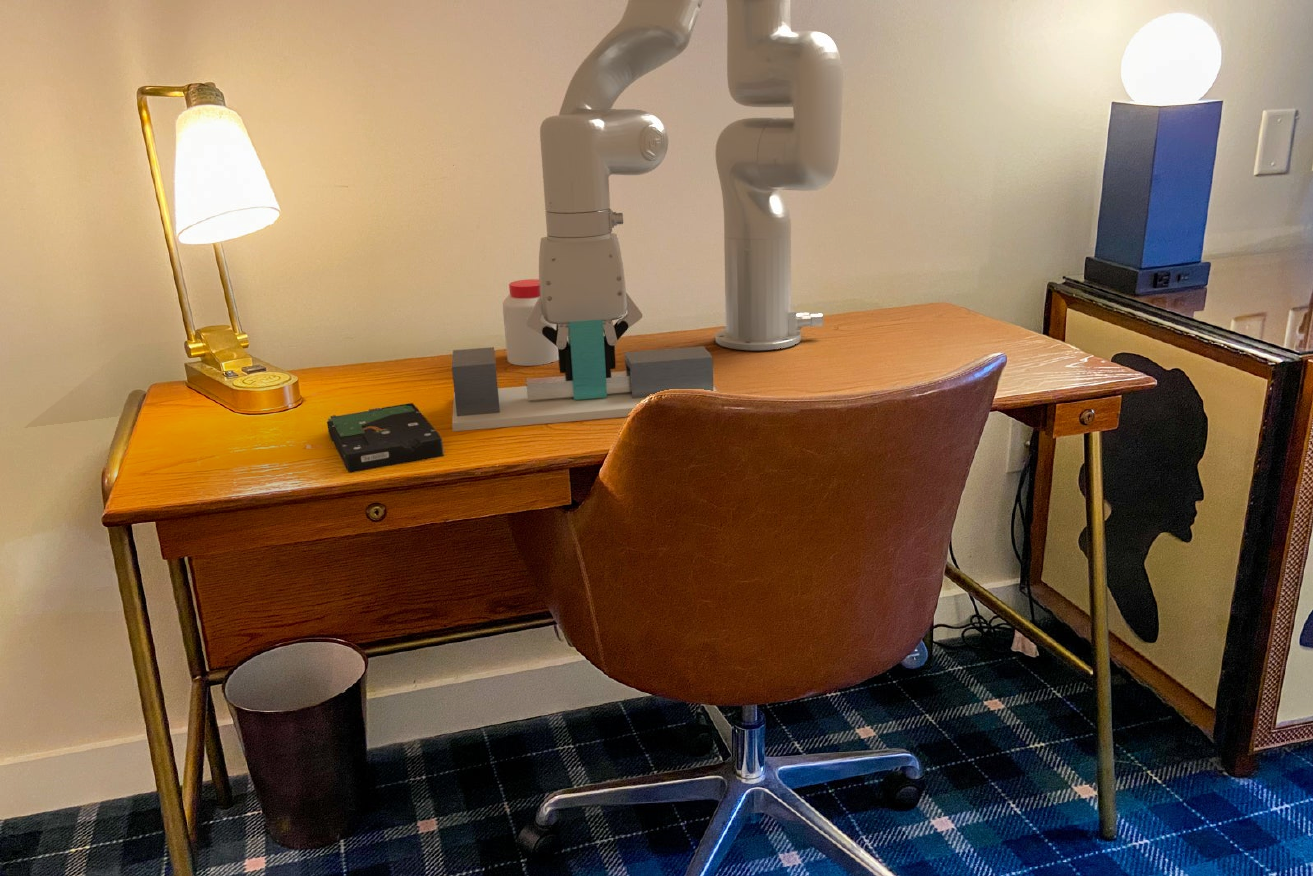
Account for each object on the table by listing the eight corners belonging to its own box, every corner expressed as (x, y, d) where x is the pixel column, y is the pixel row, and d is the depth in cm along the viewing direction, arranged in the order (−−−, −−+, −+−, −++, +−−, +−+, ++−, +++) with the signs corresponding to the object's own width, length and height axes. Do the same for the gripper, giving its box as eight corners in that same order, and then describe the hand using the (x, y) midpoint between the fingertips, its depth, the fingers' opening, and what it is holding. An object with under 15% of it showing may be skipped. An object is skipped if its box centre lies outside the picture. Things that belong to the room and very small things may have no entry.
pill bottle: (565, 351, 156) (560, 277, 152) (556, 365, 149) (550, 287, 145) (514, 352, 157) (507, 278, 153) (501, 366, 150) (495, 288, 146)
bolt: (693, 380, 134) (691, 302, 131) (700, 389, 131) (698, 309, 127) (527, 394, 132) (520, 314, 128) (528, 403, 128) (521, 322, 125)
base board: (702, 379, 139) (702, 371, 139) (724, 408, 127) (724, 400, 127) (454, 399, 135) (454, 391, 135) (453, 431, 123) (452, 423, 122)
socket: (498, 393, 133) (494, 347, 131) (499, 412, 126) (495, 363, 124) (457, 397, 132) (453, 350, 130) (456, 416, 125) (451, 366, 123)
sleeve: (704, 379, 136) (703, 346, 134) (713, 391, 130) (712, 357, 129) (626, 386, 134) (624, 352, 133) (632, 398, 129) (631, 363, 127)
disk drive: (446, 461, 115) (415, 422, 128) (444, 437, 114) (412, 400, 127) (349, 479, 111) (326, 437, 124) (346, 454, 110) (323, 414, 123)
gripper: (644, 217, 129) (650, 363, 135) (505, 225, 126) (517, 374, 132) (654, 225, 122) (660, 379, 128) (507, 234, 119) (520, 390, 125)
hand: (587, 375), depth 130 cm, fingers closed on bolt, 4 cm apart
